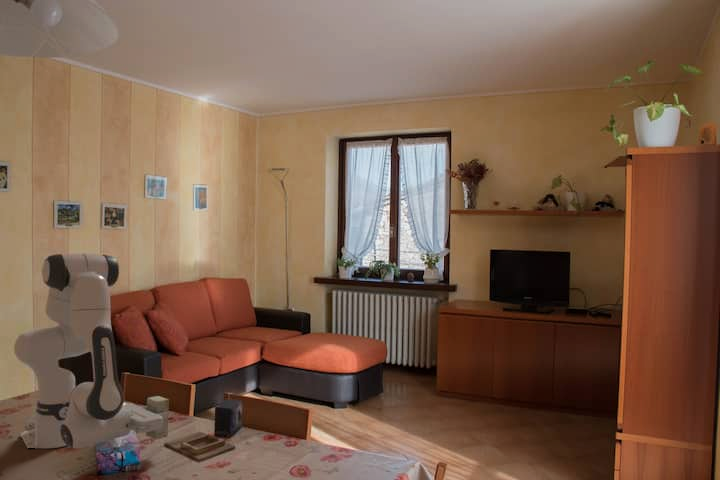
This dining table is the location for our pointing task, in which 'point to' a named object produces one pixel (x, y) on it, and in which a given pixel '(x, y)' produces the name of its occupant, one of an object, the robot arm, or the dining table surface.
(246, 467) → the dining table surface
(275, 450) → the dining table surface
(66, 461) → the dining table surface
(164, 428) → the skincare box
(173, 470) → the dining table surface
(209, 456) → the wooden board with frame
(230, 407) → the small box
